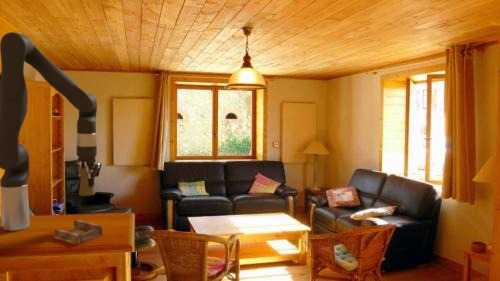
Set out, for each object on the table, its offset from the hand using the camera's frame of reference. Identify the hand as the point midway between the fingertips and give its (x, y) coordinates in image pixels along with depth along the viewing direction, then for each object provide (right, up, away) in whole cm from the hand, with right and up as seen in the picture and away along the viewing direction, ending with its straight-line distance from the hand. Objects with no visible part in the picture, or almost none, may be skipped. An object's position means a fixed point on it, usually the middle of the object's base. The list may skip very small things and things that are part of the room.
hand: (87, 185), depth 164 cm
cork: (0, -3, +1) cm, 4 cm away
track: (+1, -18, -10) cm, 21 cm away
